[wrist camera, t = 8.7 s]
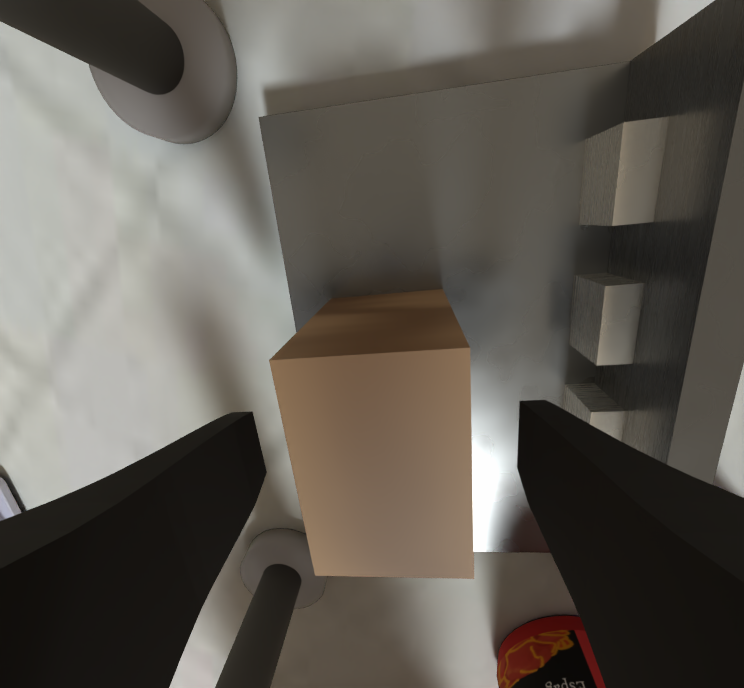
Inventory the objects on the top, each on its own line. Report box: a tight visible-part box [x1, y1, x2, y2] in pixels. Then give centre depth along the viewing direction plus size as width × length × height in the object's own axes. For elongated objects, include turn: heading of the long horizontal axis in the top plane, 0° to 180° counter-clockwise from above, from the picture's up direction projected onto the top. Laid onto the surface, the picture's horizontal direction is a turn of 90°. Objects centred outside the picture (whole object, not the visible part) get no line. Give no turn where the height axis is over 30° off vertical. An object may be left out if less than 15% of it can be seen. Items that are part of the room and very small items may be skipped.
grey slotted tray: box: [259, 0, 744, 553], centre depth 12 cm, size 12×18×5 cm, turn 6°
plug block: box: [269, 289, 474, 579], centre depth 11 cm, size 4×6×6 cm, turn 6°
